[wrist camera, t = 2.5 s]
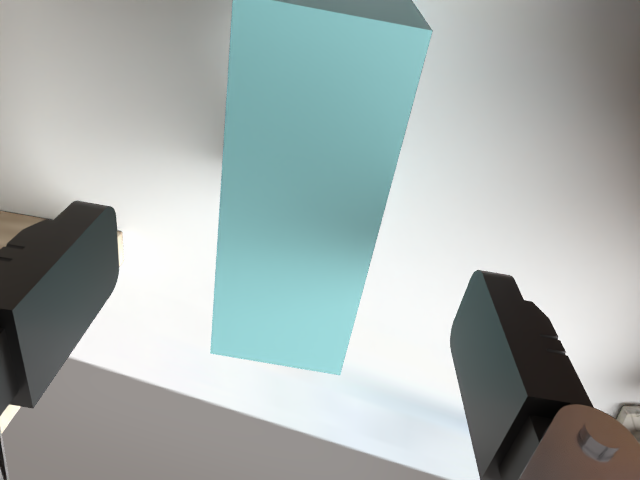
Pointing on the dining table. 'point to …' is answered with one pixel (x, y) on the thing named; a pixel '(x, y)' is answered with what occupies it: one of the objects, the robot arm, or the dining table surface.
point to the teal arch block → (308, 170)
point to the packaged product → (631, 420)
